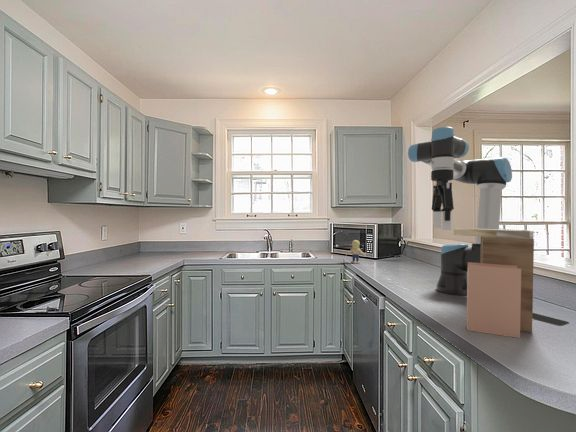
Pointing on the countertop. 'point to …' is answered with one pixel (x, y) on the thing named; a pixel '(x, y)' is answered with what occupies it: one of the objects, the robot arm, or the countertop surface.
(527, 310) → the stand
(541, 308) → the countertop surface
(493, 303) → the pink rectangular box
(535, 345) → the countertop surface
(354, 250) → the toy
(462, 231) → the slat
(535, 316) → the smartphone
